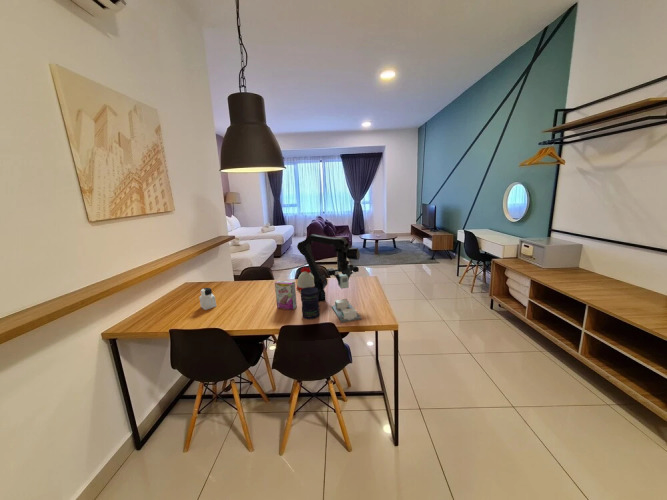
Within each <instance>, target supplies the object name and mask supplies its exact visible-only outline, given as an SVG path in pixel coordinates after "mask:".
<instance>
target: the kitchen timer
mask: <svg viewBox="0 0 667 500" xmlns="http://www.w3.org/2000/svg"><path fill="white" fill-rule="evenodd" d="M300 272H301V273H300V274H299V276H298V278H297V281H296V282H297V283H296V289H298V290H300V291H301V289H303V288H306V287H314V286H315V284H314V276H313V274H312V272H311V270H310V267H309V266H308V267H307V266H306V267H305V266H303V267H302V268H301V269H300Z"/></svg>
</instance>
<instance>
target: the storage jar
mask: <svg viewBox="0 0 667 500" xmlns="http://www.w3.org/2000/svg"><path fill="white" fill-rule="evenodd" d="M318 299H319V294H318V289H317V288H315V287H306V288H303V289H301V290H300V300H301V314H302V318H303V319H306V320H314V319H317V318H319V317H320V315H321V313H320V311H321V310H320V305H319V302H320V301H318Z"/></svg>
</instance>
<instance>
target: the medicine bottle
mask: <svg viewBox="0 0 667 500" xmlns="http://www.w3.org/2000/svg"><path fill="white" fill-rule="evenodd" d="M200 294H201V295H200V296H199V297H198V299H199V303H200V304H199V305H200V308H201V309H203V310H204V311H207V310H211V309H213V308H215V307H217V301H216V296H215V295H214V294H213V291H212V288H211V287H204V288H202V289H201V290H200Z"/></svg>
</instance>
